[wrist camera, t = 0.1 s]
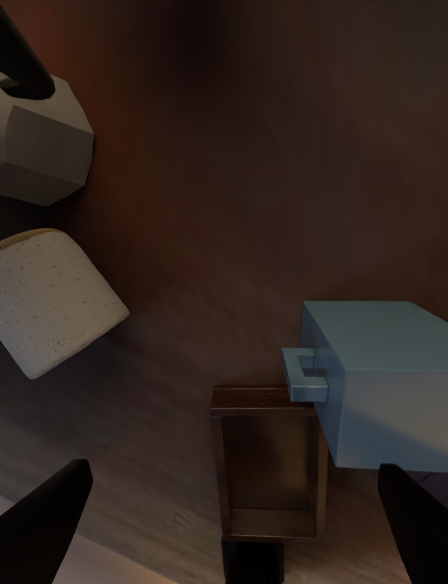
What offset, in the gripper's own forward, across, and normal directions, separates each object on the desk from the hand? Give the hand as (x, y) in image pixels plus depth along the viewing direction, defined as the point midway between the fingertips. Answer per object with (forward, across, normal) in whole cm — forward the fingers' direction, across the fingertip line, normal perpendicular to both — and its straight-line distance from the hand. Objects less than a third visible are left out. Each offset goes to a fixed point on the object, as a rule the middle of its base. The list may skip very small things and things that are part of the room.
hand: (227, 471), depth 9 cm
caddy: (+15, -2, +14) cm, 21 cm away
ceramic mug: (+15, +14, -2) cm, 21 cm away
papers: (+15, -28, +13) cm, 35 cm away
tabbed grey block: (+15, -9, +2) cm, 17 cm away
